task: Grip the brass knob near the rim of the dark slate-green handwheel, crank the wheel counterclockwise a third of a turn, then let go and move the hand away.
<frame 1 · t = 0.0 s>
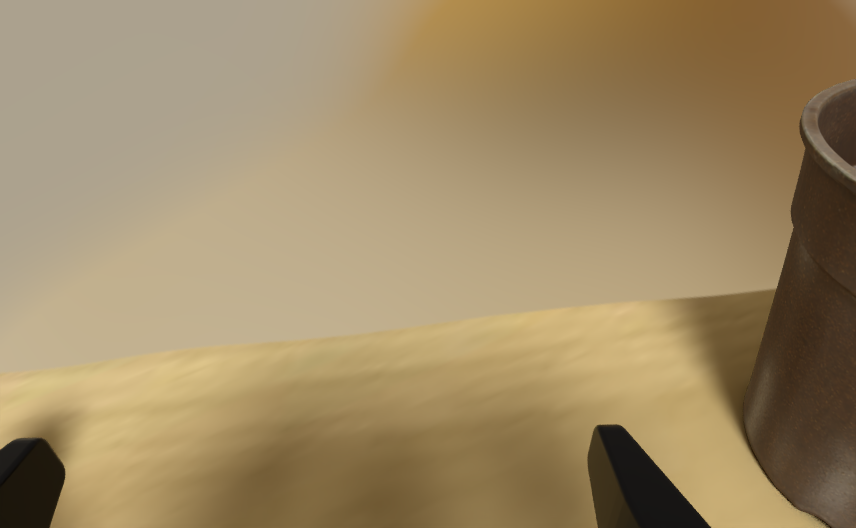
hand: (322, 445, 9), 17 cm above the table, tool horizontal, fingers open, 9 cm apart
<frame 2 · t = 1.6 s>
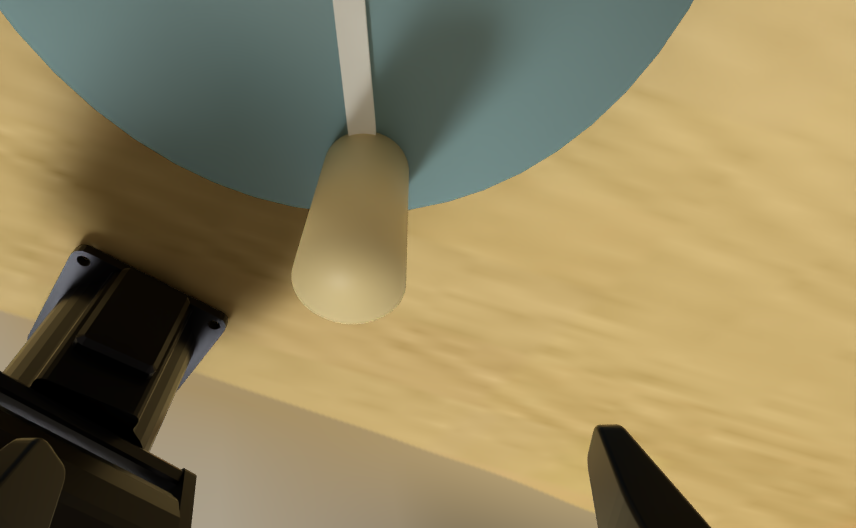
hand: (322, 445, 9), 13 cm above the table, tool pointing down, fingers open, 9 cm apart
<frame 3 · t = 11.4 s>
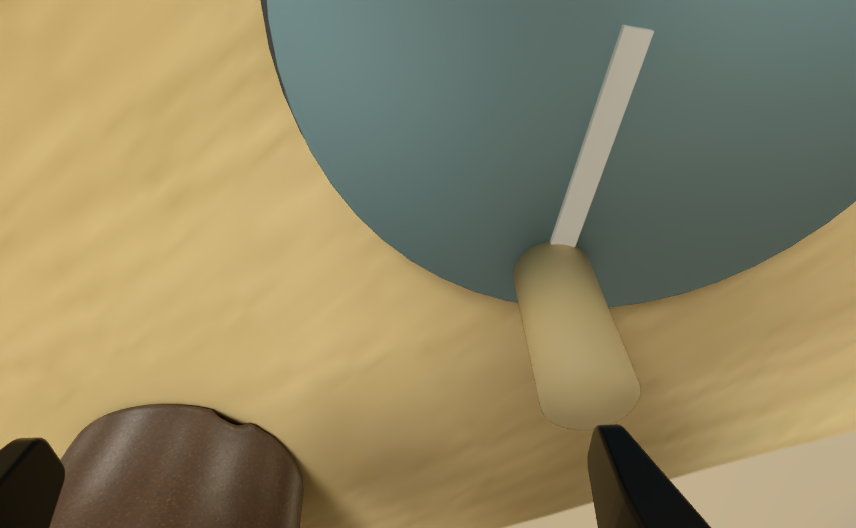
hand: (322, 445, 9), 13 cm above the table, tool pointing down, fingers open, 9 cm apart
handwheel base: (606, 2, 17), on the table
handwheel: (665, 50, 13), point 5 cm above the table, hinge at 111.2°
plant pot: (196, 469, 31), on the table
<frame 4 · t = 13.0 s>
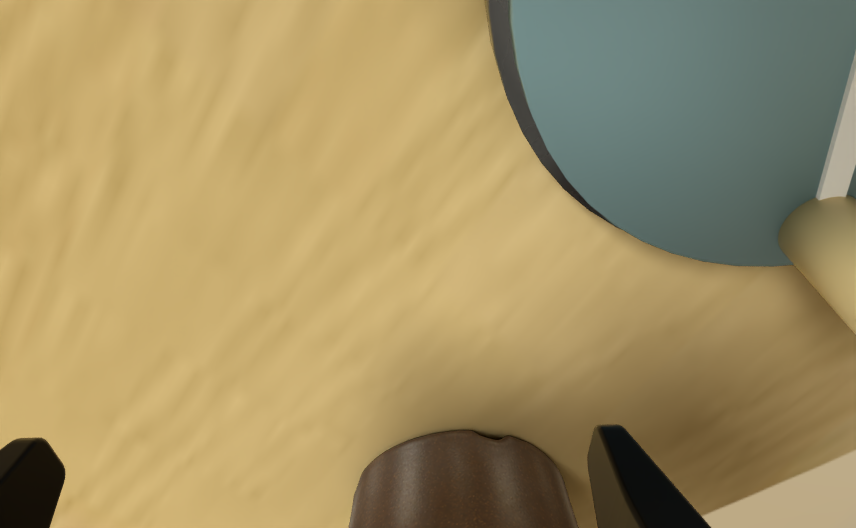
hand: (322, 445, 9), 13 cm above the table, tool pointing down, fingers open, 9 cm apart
plant pot: (461, 486, 33), on the table
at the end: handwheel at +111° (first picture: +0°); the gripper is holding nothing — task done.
